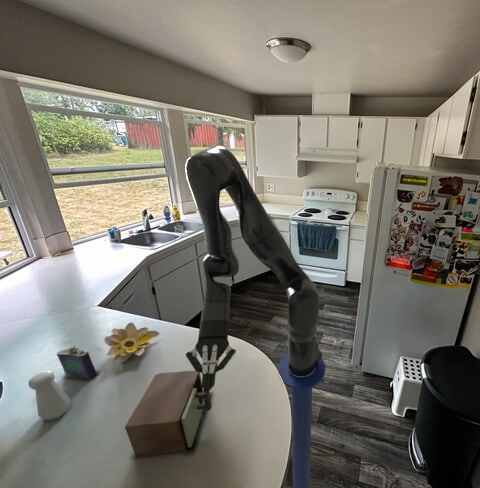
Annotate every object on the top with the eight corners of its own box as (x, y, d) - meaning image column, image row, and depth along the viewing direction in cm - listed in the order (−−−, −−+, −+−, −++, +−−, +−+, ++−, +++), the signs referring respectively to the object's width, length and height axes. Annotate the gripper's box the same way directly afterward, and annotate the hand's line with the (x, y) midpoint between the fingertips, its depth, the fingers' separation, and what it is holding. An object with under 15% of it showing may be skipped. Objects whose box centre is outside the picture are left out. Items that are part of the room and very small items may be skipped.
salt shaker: (45, 428, 63) (25, 390, 58) (38, 415, 65) (18, 379, 61) (75, 409, 67) (59, 373, 63) (68, 398, 70) (52, 363, 66)
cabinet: (211, 393, 73) (206, 368, 69) (193, 450, 59) (187, 421, 56) (163, 398, 71) (156, 372, 68) (134, 457, 57) (123, 428, 54)
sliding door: (214, 414, 67) (209, 387, 63) (205, 445, 60) (199, 416, 56) (198, 415, 66) (193, 388, 63) (188, 447, 59) (181, 418, 56)
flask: (63, 376, 76) (51, 349, 73) (73, 369, 79) (62, 342, 75) (91, 379, 76) (81, 352, 72) (100, 371, 79) (91, 344, 75)
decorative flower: (135, 367, 78) (121, 340, 76) (102, 372, 79) (88, 346, 77) (165, 336, 93) (155, 313, 90) (138, 341, 94) (127, 318, 91)
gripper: (185, 319, 67) (173, 394, 60) (236, 317, 68) (231, 389, 61) (195, 323, 73) (185, 390, 66) (241, 320, 75) (237, 386, 68)
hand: (207, 390), depth 64 cm, fingers closed
